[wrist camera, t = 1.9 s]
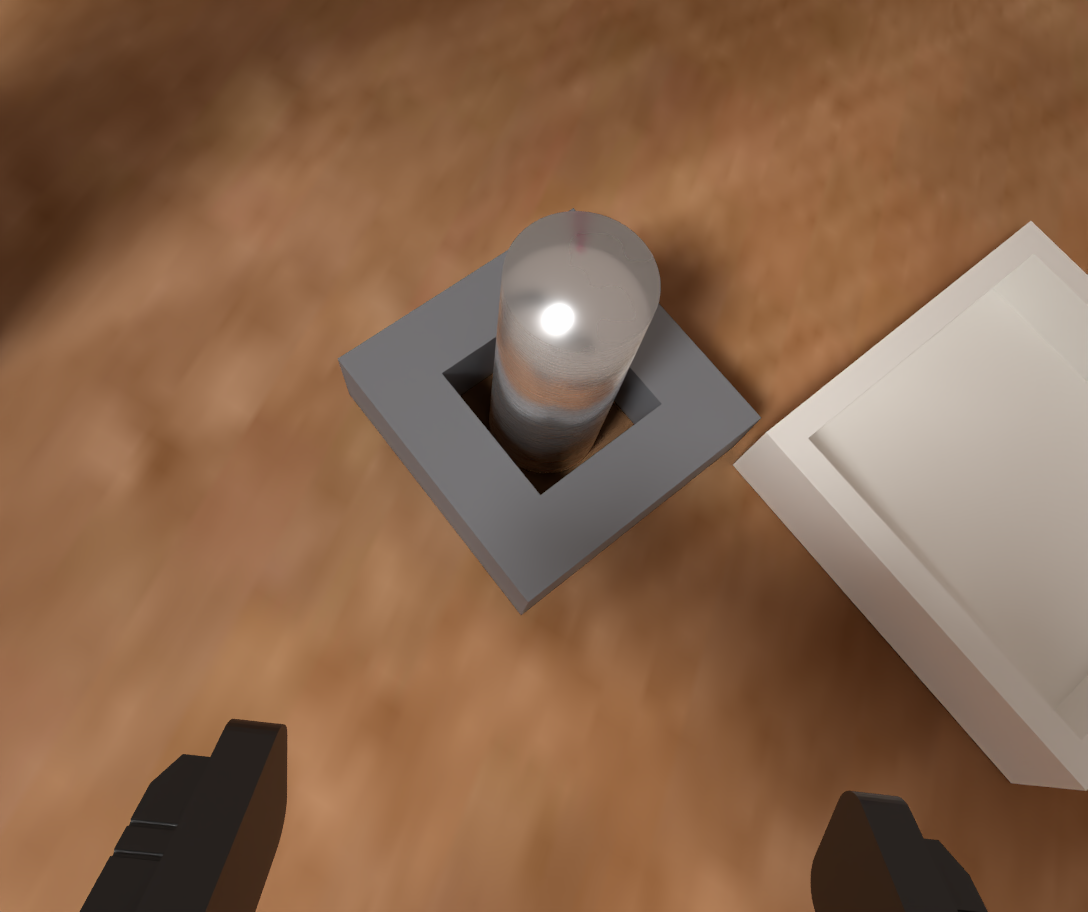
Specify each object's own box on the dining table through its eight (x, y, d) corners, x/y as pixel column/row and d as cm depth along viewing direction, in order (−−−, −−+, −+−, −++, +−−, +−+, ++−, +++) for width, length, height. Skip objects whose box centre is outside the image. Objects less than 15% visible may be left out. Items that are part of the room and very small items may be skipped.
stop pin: (466, 410, 30) (469, 263, 20) (551, 351, 31) (592, 185, 21) (535, 494, 29) (570, 382, 20) (620, 431, 30) (692, 296, 21)
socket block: (349, 394, 30) (337, 358, 27) (563, 253, 32) (573, 208, 29) (521, 615, 28) (528, 602, 25) (733, 446, 30) (761, 417, 28)
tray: (732, 464, 30) (766, 432, 27) (975, 270, 34) (1030, 220, 31) (1011, 783, 28) (1086, 790, 24) (1240, 534, 31) (1333, 510, 28)
